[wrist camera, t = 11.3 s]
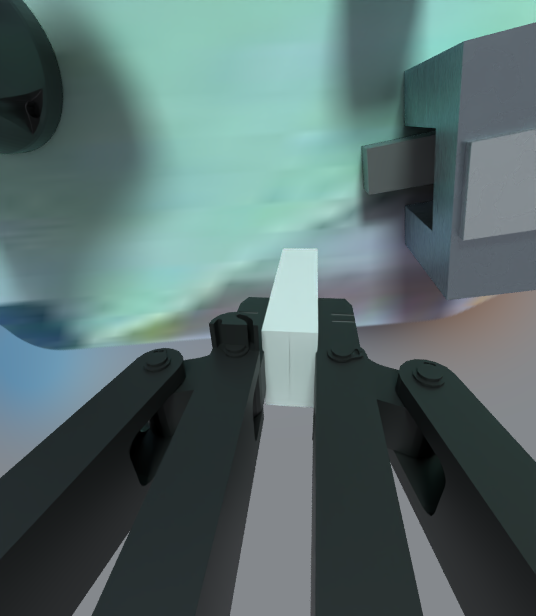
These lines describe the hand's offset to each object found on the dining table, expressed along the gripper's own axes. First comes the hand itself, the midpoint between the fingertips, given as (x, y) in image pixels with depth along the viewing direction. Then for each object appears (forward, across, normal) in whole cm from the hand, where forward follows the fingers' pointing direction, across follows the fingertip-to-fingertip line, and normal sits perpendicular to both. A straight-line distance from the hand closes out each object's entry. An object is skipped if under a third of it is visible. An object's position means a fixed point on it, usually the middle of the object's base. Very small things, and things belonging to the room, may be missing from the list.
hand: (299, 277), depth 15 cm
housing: (+23, +12, +2) cm, 26 cm away
